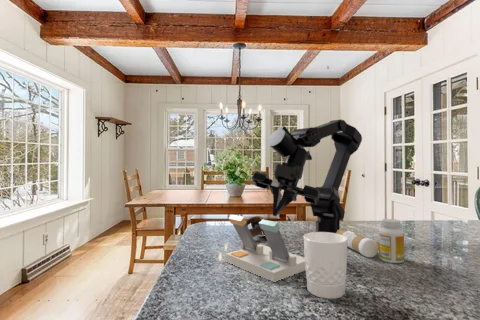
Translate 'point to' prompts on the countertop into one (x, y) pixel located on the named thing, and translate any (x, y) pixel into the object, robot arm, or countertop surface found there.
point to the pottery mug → (255, 226)
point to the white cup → (325, 264)
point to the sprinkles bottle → (359, 243)
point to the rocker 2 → (275, 240)
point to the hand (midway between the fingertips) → (274, 215)
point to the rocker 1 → (243, 232)
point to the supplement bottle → (391, 241)
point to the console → (265, 262)
